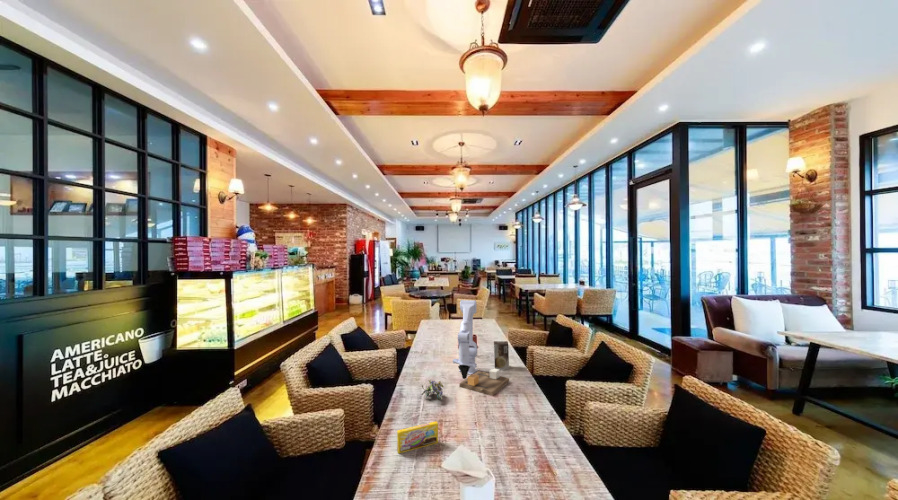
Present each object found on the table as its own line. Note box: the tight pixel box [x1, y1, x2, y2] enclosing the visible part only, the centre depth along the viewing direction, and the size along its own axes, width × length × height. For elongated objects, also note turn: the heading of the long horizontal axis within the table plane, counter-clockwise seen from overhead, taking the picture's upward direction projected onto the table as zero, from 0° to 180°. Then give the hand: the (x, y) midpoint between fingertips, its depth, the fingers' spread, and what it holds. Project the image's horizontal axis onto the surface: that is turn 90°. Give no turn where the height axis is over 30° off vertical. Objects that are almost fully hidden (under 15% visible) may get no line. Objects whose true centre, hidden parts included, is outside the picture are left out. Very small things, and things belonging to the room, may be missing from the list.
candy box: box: [396, 421, 439, 455], centre depth 126 cm, size 16×2×8 cm, turn 114°
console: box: [459, 370, 510, 397], centre depth 182 cm, size 20×23×2 cm
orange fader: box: [467, 373, 479, 386], centre depth 178 cm, size 4×5×4 cm
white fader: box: [489, 367, 501, 379], centre depth 186 cm, size 4×5×4 cm
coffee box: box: [493, 340, 510, 370], centre depth 207 cm, size 9×6×16 cm
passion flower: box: [421, 379, 444, 401], centre depth 167 cm, size 11×11×12 cm
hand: (464, 378), depth 181 cm, fingers closed
